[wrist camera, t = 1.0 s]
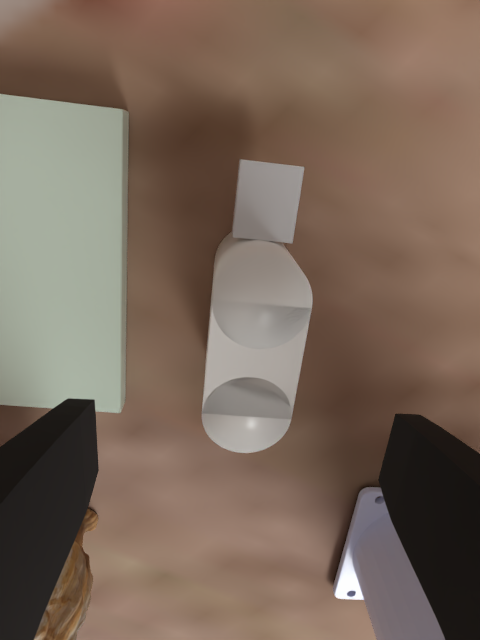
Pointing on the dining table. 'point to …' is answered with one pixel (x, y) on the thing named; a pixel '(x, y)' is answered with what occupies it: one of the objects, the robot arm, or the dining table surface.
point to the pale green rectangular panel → (63, 253)
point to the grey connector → (256, 314)
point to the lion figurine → (70, 591)
